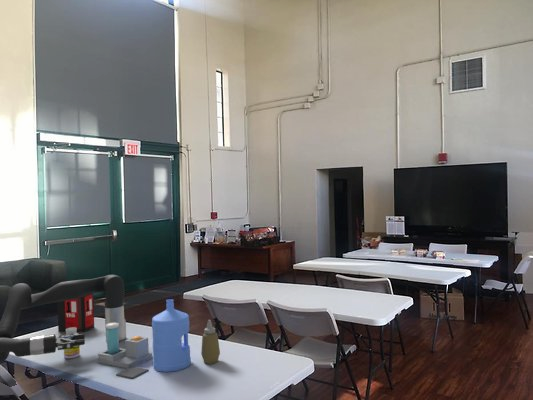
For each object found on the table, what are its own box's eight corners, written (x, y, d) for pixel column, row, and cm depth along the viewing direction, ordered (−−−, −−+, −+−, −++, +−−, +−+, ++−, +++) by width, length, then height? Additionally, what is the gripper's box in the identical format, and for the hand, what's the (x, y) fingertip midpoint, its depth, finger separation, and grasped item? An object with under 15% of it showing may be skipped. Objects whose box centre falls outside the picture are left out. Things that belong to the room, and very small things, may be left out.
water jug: (158, 375, 175) (155, 306, 175) (149, 363, 189) (147, 299, 189) (195, 367, 182) (193, 300, 182) (184, 356, 196) (182, 294, 196)
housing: (121, 352, 205) (120, 333, 205) (152, 357, 196) (151, 337, 196) (97, 362, 192) (96, 342, 193) (129, 368, 184) (128, 347, 184)
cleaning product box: (94, 327, 249) (93, 292, 249) (85, 332, 240) (84, 296, 240) (68, 327, 252) (66, 292, 252) (58, 331, 243) (57, 296, 243)
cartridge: (113, 353, 198) (112, 322, 198) (122, 354, 195) (121, 323, 195) (104, 357, 193) (103, 325, 193) (113, 358, 190) (111, 326, 191)
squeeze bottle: (223, 359, 191) (221, 318, 191) (215, 366, 183) (213, 323, 183) (206, 357, 193) (205, 317, 193) (198, 364, 186) (196, 322, 186)
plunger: (137, 346, 197) (136, 335, 197) (142, 347, 196) (142, 336, 196) (131, 349, 194) (130, 337, 194) (137, 350, 192) (136, 338, 192)
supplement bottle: (73, 359, 198) (72, 330, 198) (61, 358, 199) (60, 330, 199) (82, 354, 204) (81, 326, 204) (70, 353, 206) (69, 326, 206)
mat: (132, 367, 185) (132, 366, 185) (148, 370, 180) (148, 369, 180) (116, 375, 177) (116, 374, 177) (132, 379, 173) (132, 377, 173)
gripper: (44, 348, 190) (84, 343, 196) (41, 359, 177) (85, 352, 183) (44, 331, 190) (84, 326, 196) (41, 340, 177) (84, 334, 183)
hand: (84, 339), depth 190 cm, fingers open, 8 cm apart
